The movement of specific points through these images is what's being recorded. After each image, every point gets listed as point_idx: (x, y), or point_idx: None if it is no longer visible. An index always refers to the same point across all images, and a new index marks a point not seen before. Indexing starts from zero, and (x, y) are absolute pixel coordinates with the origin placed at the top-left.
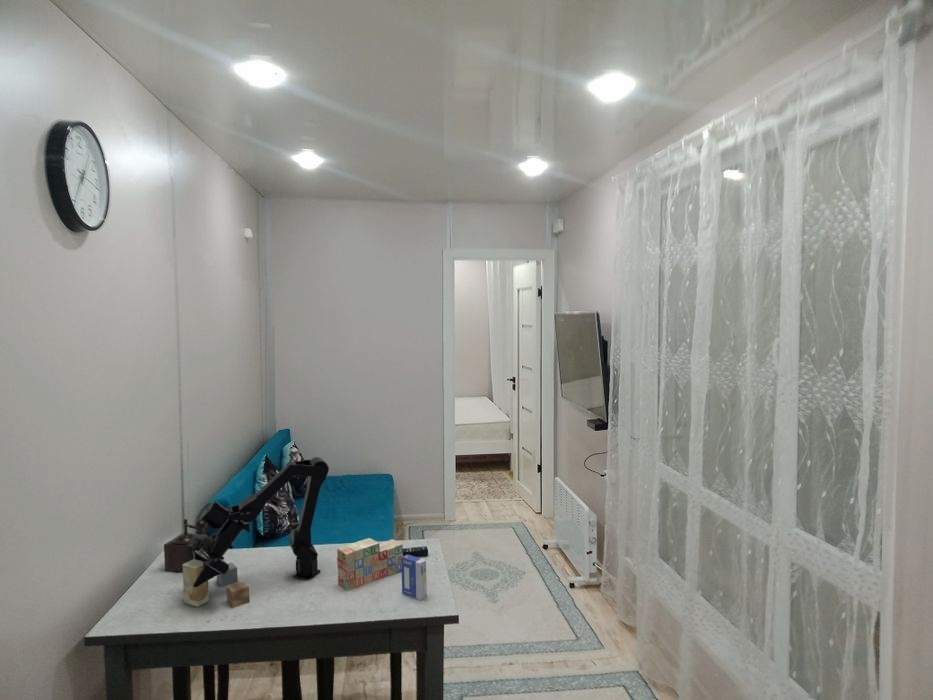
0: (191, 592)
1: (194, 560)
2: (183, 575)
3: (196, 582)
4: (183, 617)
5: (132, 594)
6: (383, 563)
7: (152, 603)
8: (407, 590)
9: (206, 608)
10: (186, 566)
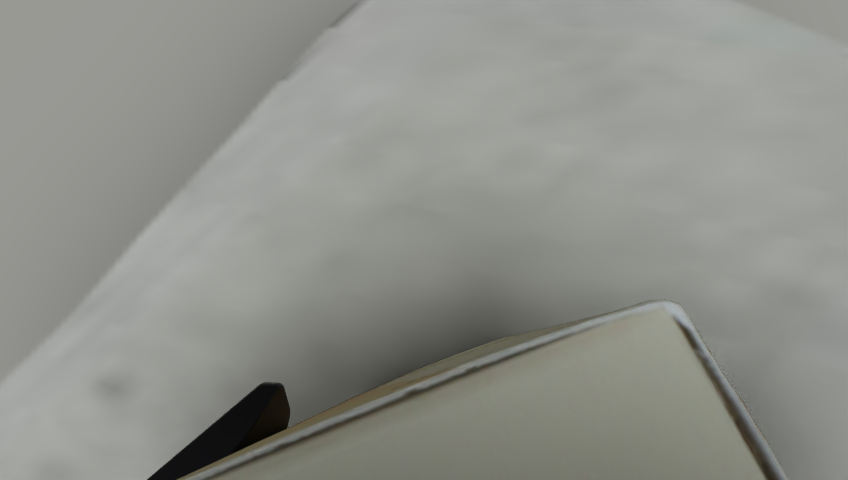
0: (399, 378)
1: None
2: (551, 327)
3: (211, 431)
4: (301, 271)
5: None
6: None
7: (668, 164)
8: None
9: None
10: (456, 368)
